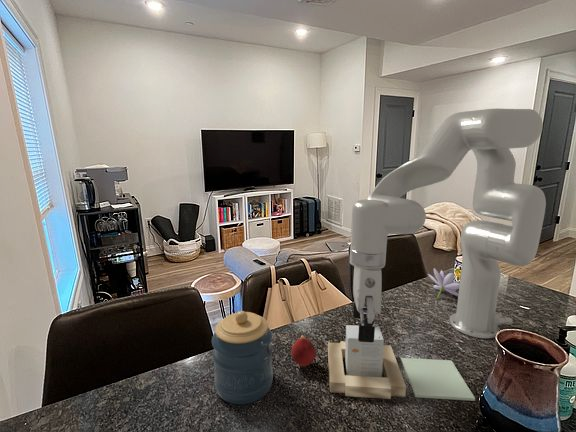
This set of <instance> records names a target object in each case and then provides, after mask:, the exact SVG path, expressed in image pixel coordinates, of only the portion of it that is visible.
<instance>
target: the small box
mask: <svg viewBox="0 0 576 432" xmlns="http://www.w3.org/2000/svg"><path fill="white" fill-rule="evenodd" d="M358 334H359V325H354V324H353V325H350V324H349V325H348V324H346V325H345V341H346V343H345V344H346V347H345V358H344V363H345V364H344V365H345V372H346V374H345V375H349V376H367V377H383V371H382V369H383V350H384V345H385V339H384V337H383V334H382V330H381V328H380V326H378V325H377V326H376V325H375V333H374V342H372V343H371V342H359V340H358Z"/></svg>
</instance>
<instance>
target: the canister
mask: <svg viewBox="0 0 576 432" xmlns="http://www.w3.org/2000/svg"><path fill="white" fill-rule="evenodd" d="M214 328H215V330H214V333H213V335H212V337H211V345H212V347H213V350H212V359H213V365H214V366H213V367H214V378H213V379H214V380H213V381H214V386H215V387H214V388H215V390H216V394H217V396H219V397H220V399H222V400H223V401H225V402H227V403H229V404H232V405H233V404H234V405H248V404H251V403H252V404H253V403H254V402H257V401H258V400H259V401H260V399H262V398H264V397H265V396H266V395H267V394H268V392H270V390H271V388H272V383H273V381H274V379H273V378H274V371H273V345H272V343H271V342H272V339H273V332H272V330H271V328H270V327H269V323H268V320H266V318H264V317H263V316H261V315H259V314H257V313H255V312H251V311H244V310H239V311H238V312H235V313H231V314H229V315H227V316H226V317H224V318H223V319H221V320H219V322H218V323H217V324H216V325H215V327H214Z"/></svg>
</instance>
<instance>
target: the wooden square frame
mask: <svg viewBox="0 0 576 432" xmlns="http://www.w3.org/2000/svg"><path fill="white" fill-rule="evenodd" d="M345 343H346V340H344V341H343V340H342V341H341V340H340V342H329V341H328V342H327V356H328V358H327V359H328V362H327V363H328V375H329V376H328V377H329V381H328V382H329V393H338V394H344V396H345V397H352V398H353V397H355V398H356V397H357V398H371V399H386V400H391V399H392V398H391V397H398V398H406V392H407V391H406V390H407V386H406V385H407V384H406V383H405V380H404V378H403V377H404V376H403V374H402V372H401V370H400V366H399V364H398V361H397V359H396V358H397V357H396V356H395V354H394V350H393V348H392V345H391V344H390V345H388V344H387V345H386V344H384V350H383V369H382V375H383V376H382V377H367V376H349V375H347V374H345V368H344V361H343V360H344V359H345V347H346V344H345Z"/></svg>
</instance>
